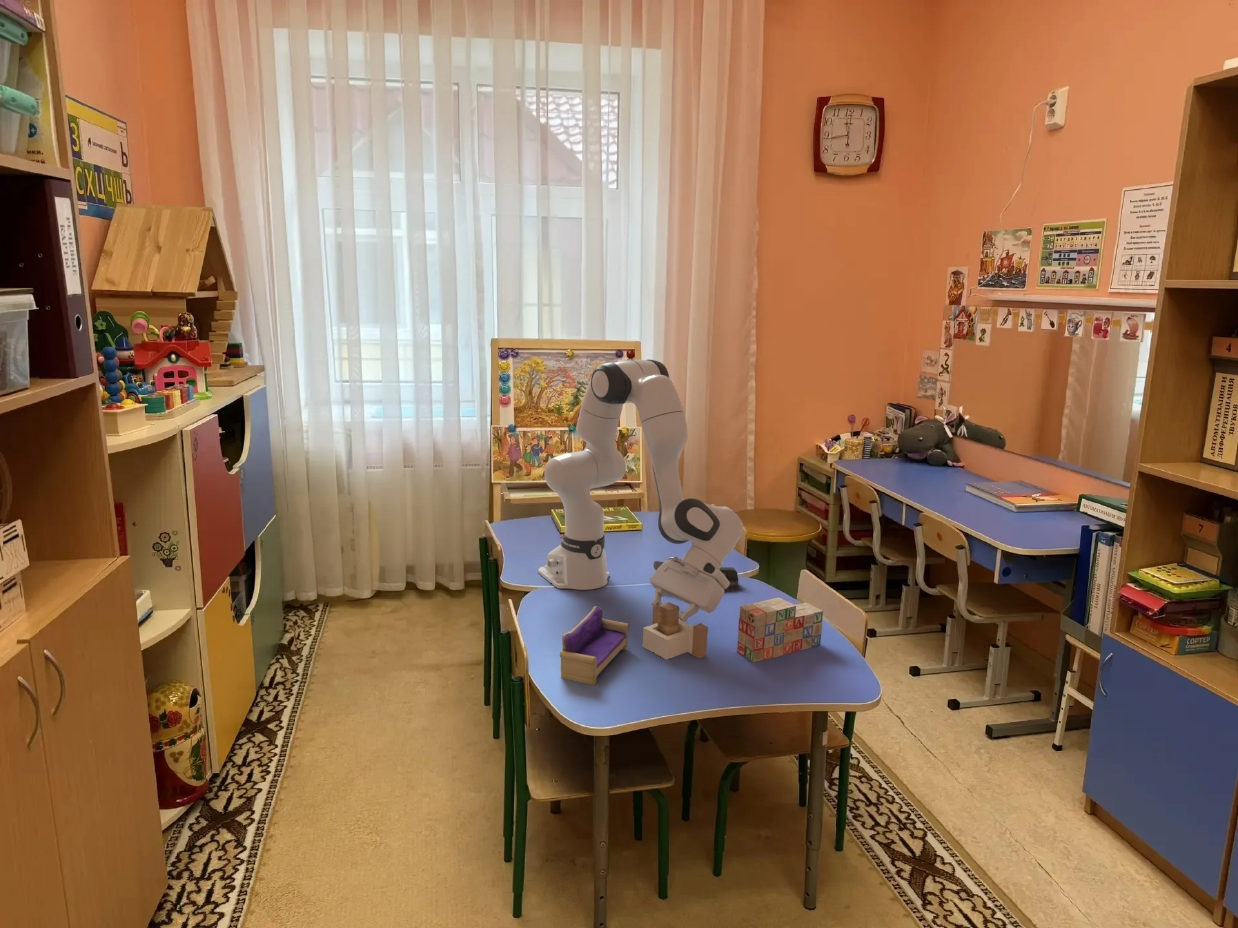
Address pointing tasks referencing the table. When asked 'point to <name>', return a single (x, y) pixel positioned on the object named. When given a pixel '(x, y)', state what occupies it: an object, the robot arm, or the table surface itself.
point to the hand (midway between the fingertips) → (667, 613)
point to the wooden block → (668, 619)
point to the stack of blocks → (777, 628)
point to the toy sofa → (591, 646)
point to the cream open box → (675, 639)
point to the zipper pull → (727, 571)
